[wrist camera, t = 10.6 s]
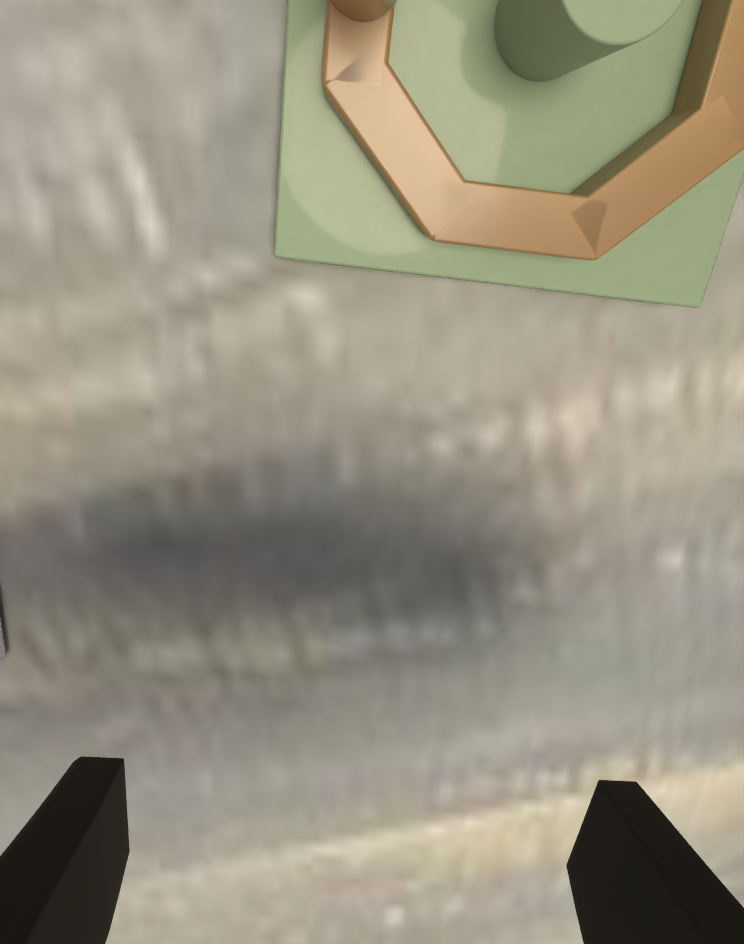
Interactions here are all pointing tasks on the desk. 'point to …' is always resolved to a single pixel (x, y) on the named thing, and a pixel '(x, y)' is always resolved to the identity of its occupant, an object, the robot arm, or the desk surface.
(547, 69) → the peg stand
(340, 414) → the desk surface
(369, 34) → the maple ring
